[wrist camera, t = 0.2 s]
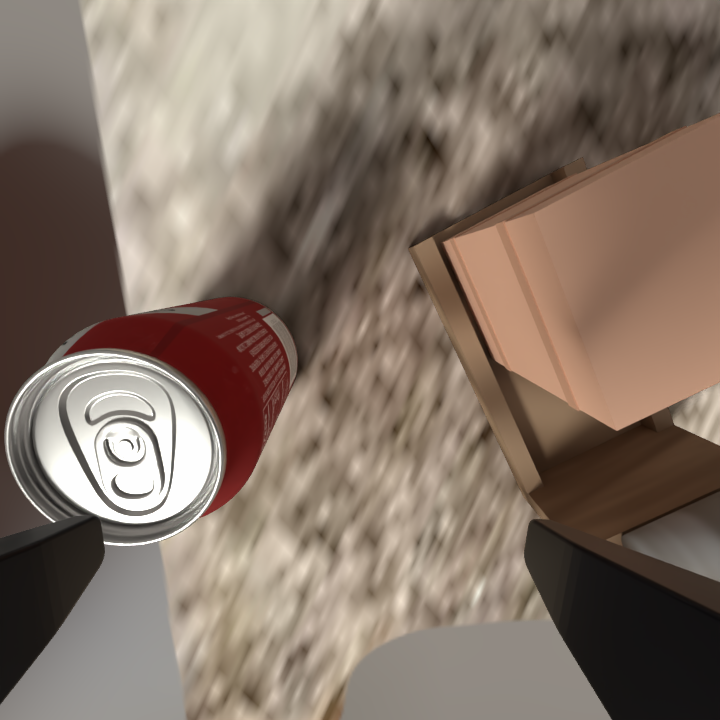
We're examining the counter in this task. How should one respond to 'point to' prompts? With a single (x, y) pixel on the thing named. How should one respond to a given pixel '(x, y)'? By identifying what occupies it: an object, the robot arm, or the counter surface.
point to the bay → (584, 438)
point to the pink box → (607, 279)
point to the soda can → (152, 416)
